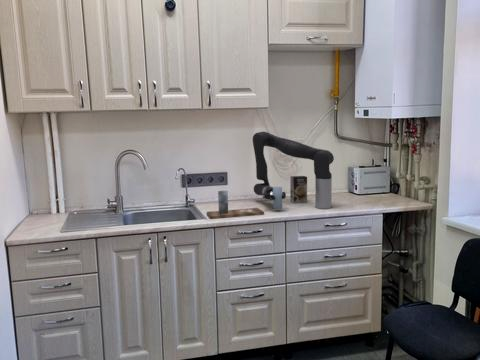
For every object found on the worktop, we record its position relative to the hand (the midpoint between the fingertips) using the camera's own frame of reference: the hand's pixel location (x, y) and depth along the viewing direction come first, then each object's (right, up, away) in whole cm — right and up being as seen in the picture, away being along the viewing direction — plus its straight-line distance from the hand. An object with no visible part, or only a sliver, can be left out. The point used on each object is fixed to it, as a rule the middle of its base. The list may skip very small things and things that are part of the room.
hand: (279, 197), depth 245 cm
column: (0, -6, +3) cm, 7 cm away
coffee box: (+15, -4, +29) cm, 33 cm away
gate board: (-25, -9, -2) cm, 27 cm away
